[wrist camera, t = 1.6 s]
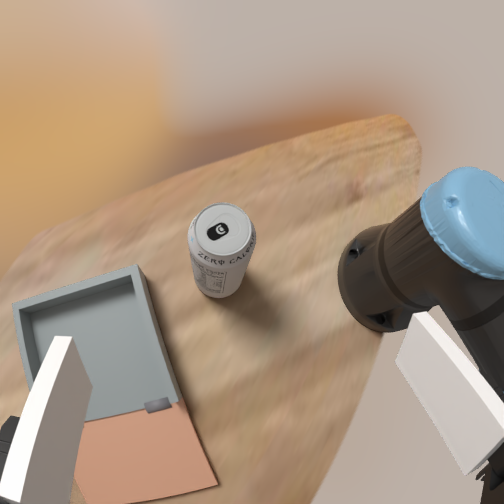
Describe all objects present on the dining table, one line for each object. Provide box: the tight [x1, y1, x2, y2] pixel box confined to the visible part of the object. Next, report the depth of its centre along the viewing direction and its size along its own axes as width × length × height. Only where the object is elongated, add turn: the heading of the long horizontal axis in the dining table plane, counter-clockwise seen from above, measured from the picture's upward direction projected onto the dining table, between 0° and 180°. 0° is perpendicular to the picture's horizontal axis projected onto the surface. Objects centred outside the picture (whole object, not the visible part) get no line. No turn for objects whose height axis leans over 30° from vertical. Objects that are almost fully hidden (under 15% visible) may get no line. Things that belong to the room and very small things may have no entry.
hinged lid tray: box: [12, 264, 218, 504], centre depth 31 cm, size 18×28×4 cm, turn 20°
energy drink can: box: [188, 203, 256, 298], centre depth 34 cm, size 6×6×15 cm
